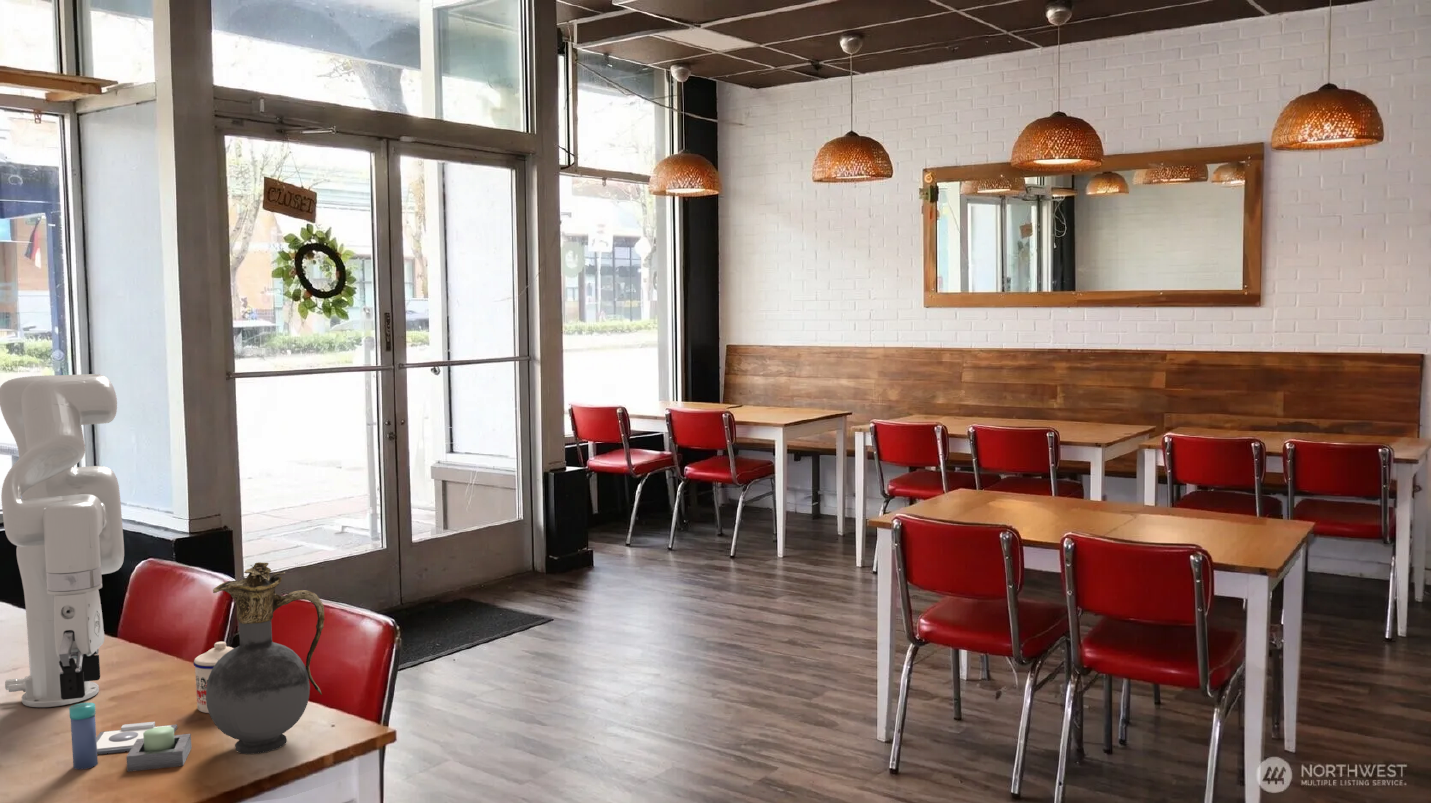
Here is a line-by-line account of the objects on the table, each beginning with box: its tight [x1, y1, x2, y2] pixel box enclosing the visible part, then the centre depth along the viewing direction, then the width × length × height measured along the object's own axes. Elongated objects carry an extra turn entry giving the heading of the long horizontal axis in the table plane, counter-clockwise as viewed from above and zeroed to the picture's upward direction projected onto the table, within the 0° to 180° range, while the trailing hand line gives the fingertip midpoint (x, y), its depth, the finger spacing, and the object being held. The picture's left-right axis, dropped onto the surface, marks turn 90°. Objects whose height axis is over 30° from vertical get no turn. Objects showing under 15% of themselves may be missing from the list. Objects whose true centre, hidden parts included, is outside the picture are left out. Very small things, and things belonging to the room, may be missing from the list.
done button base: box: [126, 733, 192, 773], centre depth 190 cm, size 8×8×2 cm
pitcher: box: [206, 561, 325, 755], centre depth 195 cm, size 11×19×30 cm, turn 127°
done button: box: [143, 726, 175, 752], centre depth 190 cm, size 4×4×3 cm
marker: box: [68, 702, 99, 770], centre depth 188 cm, size 4×4×10 cm
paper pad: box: [96, 721, 178, 755], centre depth 199 cm, size 12×10×1 cm
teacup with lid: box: [192, 641, 235, 714], centre depth 215 cm, size 12×9×12 cm
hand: (81, 689), depth 187 cm, fingers open, 9 cm apart
